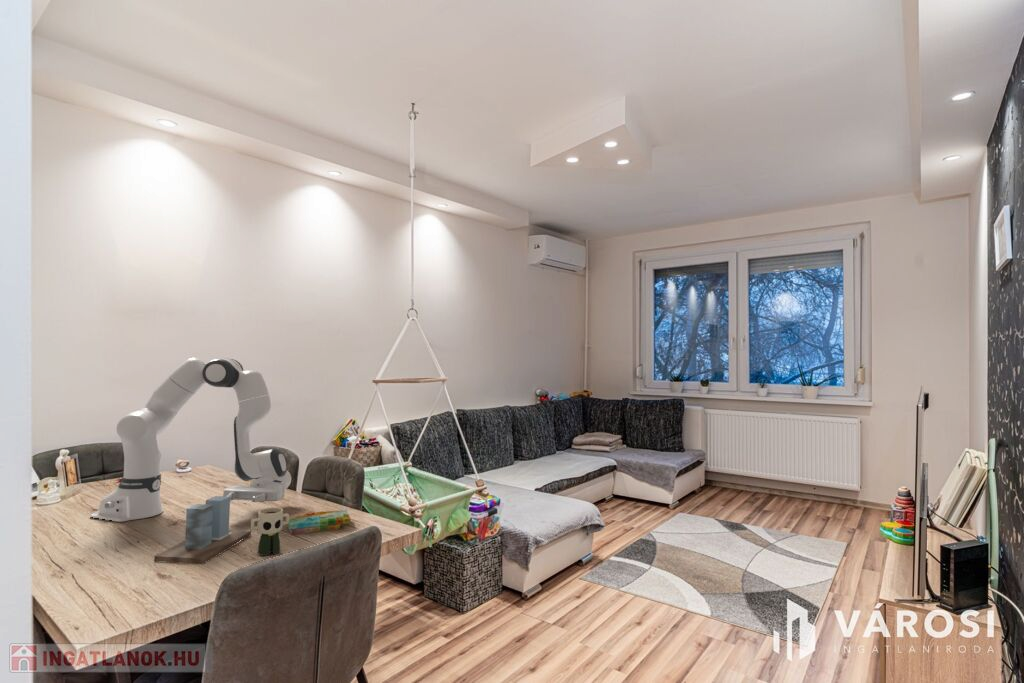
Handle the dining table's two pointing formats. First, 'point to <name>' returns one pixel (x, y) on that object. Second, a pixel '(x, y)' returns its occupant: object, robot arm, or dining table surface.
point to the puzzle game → (317, 521)
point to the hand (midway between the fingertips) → (241, 499)
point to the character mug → (269, 529)
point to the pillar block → (220, 515)
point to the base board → (202, 553)
